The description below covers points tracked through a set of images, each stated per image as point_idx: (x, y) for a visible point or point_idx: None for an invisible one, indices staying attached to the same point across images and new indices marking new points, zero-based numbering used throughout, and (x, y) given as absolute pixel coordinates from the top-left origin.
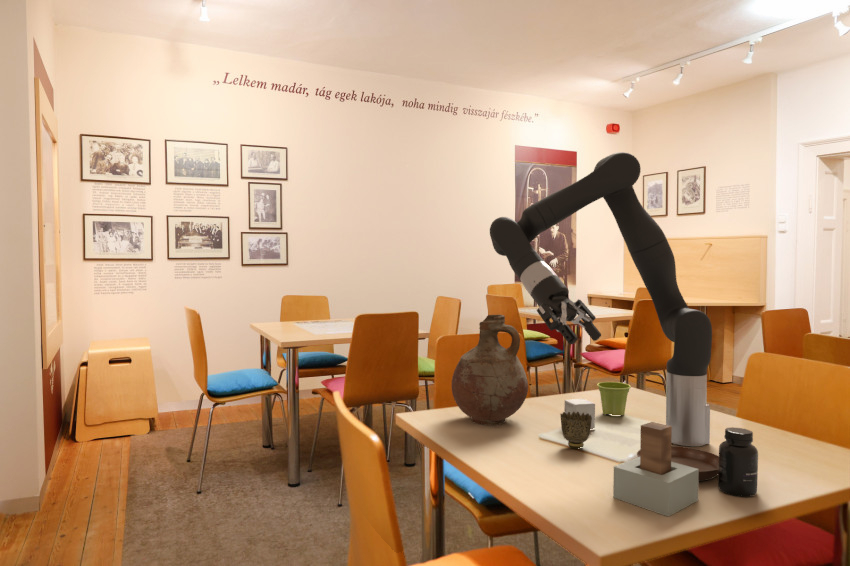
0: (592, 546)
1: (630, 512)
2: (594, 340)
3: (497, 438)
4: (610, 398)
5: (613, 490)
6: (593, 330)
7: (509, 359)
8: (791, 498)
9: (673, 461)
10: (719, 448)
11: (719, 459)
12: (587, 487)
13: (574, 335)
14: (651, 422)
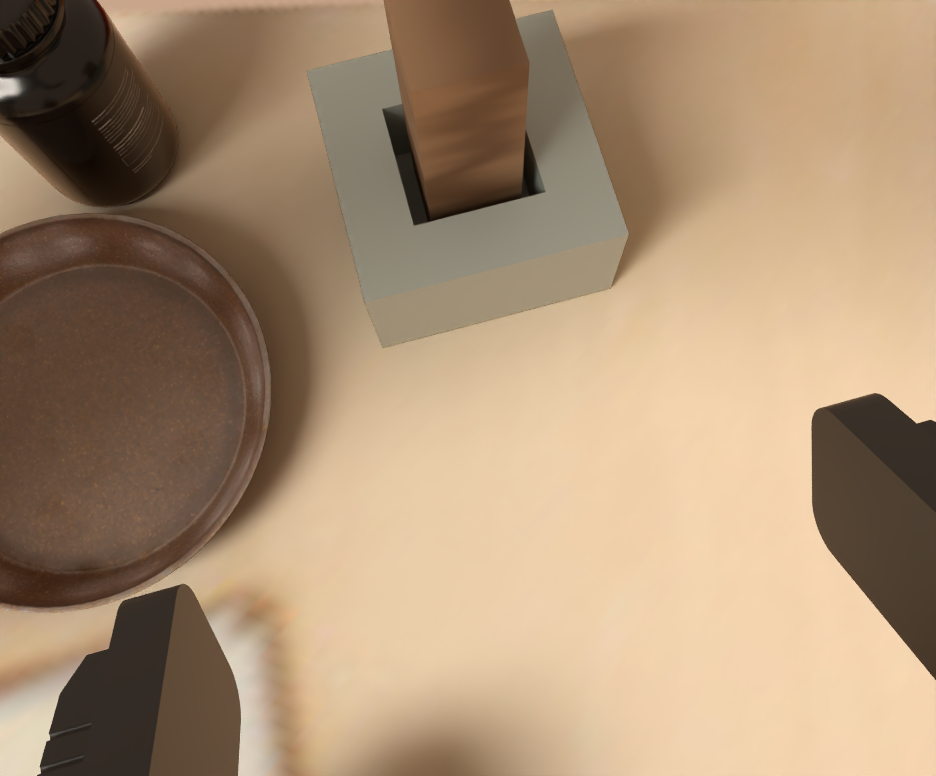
0: (930, 29)
1: (643, 163)
2: (235, 685)
3: None
4: None
5: (614, 276)
6: (183, 723)
7: None
8: None
9: (34, 496)
10: (86, 94)
11: (113, 118)
12: (639, 417)
13: (895, 416)
14: (424, 83)
